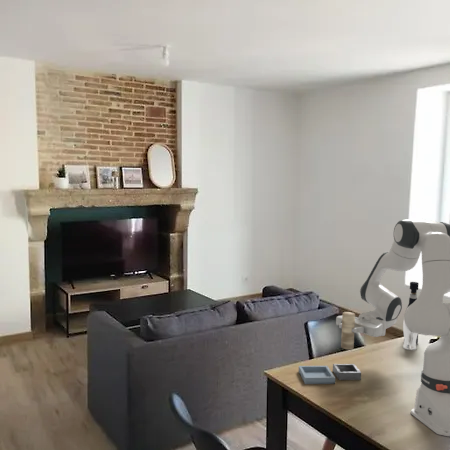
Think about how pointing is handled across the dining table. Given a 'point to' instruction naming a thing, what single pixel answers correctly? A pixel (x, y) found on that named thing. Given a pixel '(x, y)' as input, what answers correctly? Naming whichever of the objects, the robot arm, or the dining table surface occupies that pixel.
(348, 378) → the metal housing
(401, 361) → the dining table surface
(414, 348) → the beer glass
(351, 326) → the peg
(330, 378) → the tray
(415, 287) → the black chrome pepper mill
